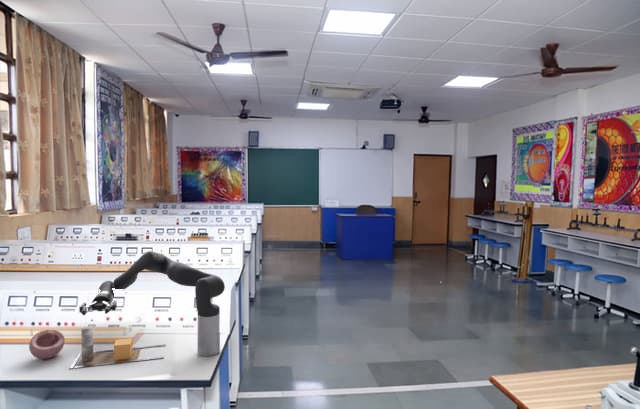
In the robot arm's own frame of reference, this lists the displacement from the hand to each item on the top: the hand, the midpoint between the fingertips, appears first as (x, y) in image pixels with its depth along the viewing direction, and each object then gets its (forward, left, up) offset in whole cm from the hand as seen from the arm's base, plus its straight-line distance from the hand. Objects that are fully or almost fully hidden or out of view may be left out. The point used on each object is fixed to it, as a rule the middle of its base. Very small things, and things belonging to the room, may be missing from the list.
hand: (94, 312), depth 169 cm
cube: (-13, +13, -15) cm, 24 cm away
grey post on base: (-8, +13, -16) cm, 23 cm away
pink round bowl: (+17, +3, -17) cm, 24 cm away
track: (-13, +13, -17) cm, 25 cm away
